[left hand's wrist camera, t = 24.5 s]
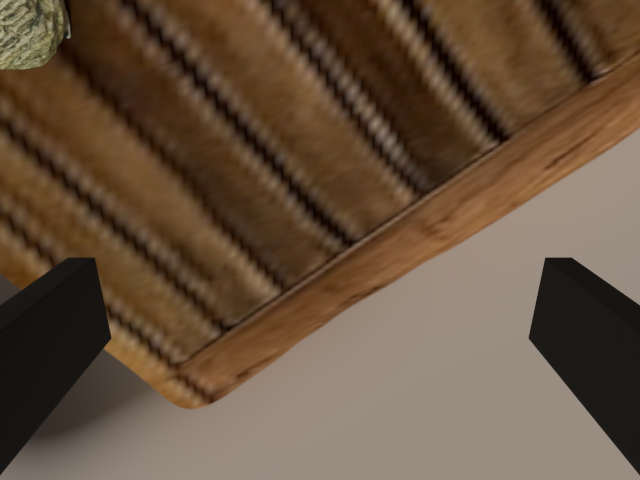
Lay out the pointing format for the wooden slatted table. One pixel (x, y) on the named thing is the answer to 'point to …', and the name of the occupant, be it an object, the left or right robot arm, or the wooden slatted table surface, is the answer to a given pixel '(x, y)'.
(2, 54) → the fossil
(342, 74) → the wooden slatted table surface
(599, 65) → the wooden slatted table surface
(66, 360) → the left robot arm
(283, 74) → the wooden slatted table surface
